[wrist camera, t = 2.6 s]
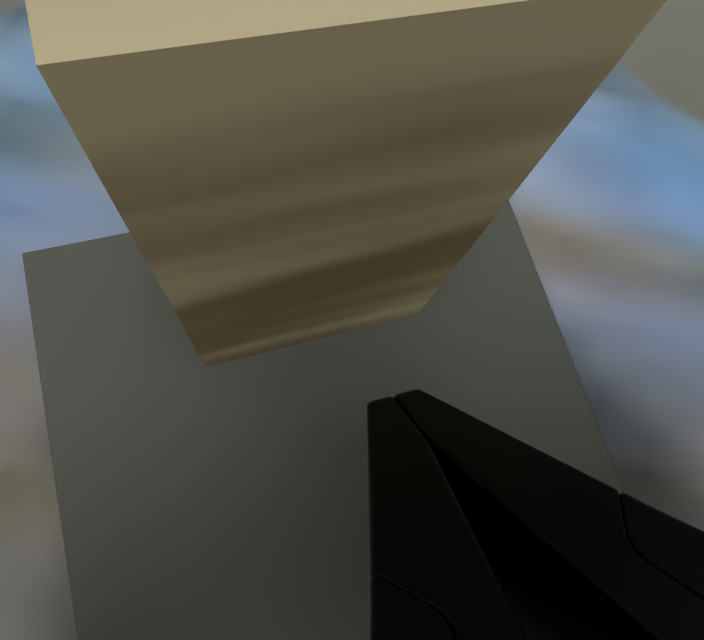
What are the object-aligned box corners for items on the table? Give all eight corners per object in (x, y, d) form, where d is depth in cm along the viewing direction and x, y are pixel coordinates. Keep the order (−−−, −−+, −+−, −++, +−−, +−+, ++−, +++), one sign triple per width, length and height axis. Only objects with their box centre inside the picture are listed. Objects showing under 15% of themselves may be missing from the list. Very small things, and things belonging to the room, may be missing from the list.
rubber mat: (653, 589, 15) (663, 591, 15) (107, 799, 12) (102, 808, 12) (488, 169, 18) (493, 162, 18) (28, 259, 15) (22, 253, 15)
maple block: (417, 314, 16) (683, -20, 6) (205, 367, 15) (35, 64, 4) (381, 207, 17) (552, -259, 6) (179, 247, 16) (-16, -243, 5)
